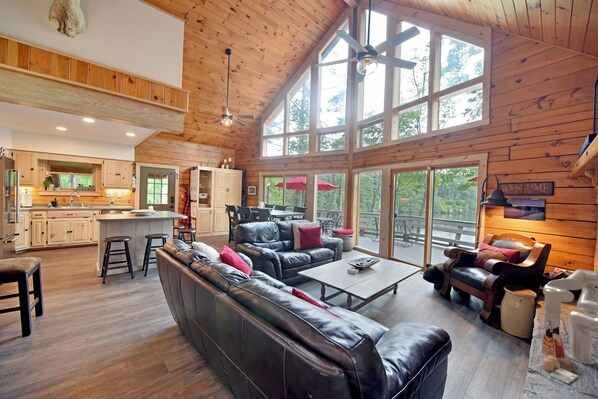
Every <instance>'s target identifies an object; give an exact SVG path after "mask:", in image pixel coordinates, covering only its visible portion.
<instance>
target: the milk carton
mask: <svg viewBox="0 0 598 399" xmlns="http://www.w3.org/2000/svg"><path fill="white" fill-rule="evenodd" d="M541 352H542V353H544V355H546V357H547V356H548V355H551V356H554V357H556V358H558V360H560V359H561V358H565V359H567V358H566V354H565V353H566V352H565V348H564V342H563V339H562V336H561V333H560V331H559V335H557V334H554V333H553V338H550V337H547V336H546V330H544V334H543V338H542V343H541Z"/></svg>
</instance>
